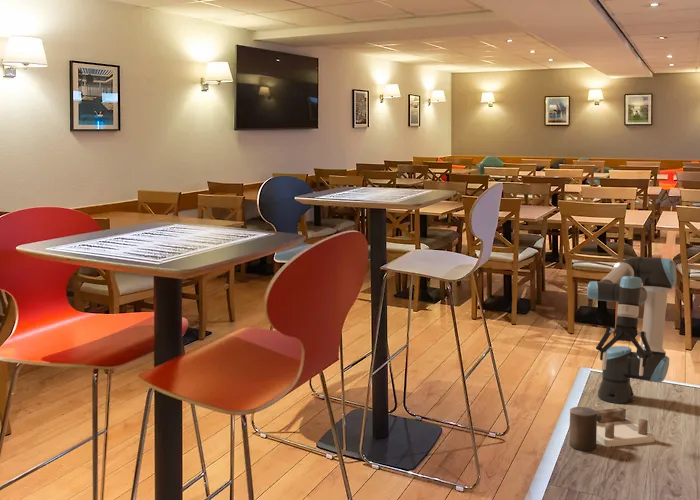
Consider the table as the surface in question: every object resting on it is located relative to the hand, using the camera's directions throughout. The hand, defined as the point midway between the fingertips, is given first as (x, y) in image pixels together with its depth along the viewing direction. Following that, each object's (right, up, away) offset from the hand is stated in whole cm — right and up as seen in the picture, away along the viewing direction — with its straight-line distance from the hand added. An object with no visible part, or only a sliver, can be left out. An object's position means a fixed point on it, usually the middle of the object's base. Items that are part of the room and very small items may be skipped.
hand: (621, 372), depth 248 cm
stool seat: (+1, -26, +9) cm, 27 cm away
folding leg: (+2, -22, +16) cm, 27 cm away
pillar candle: (-15, -28, -1) cm, 31 cm away
